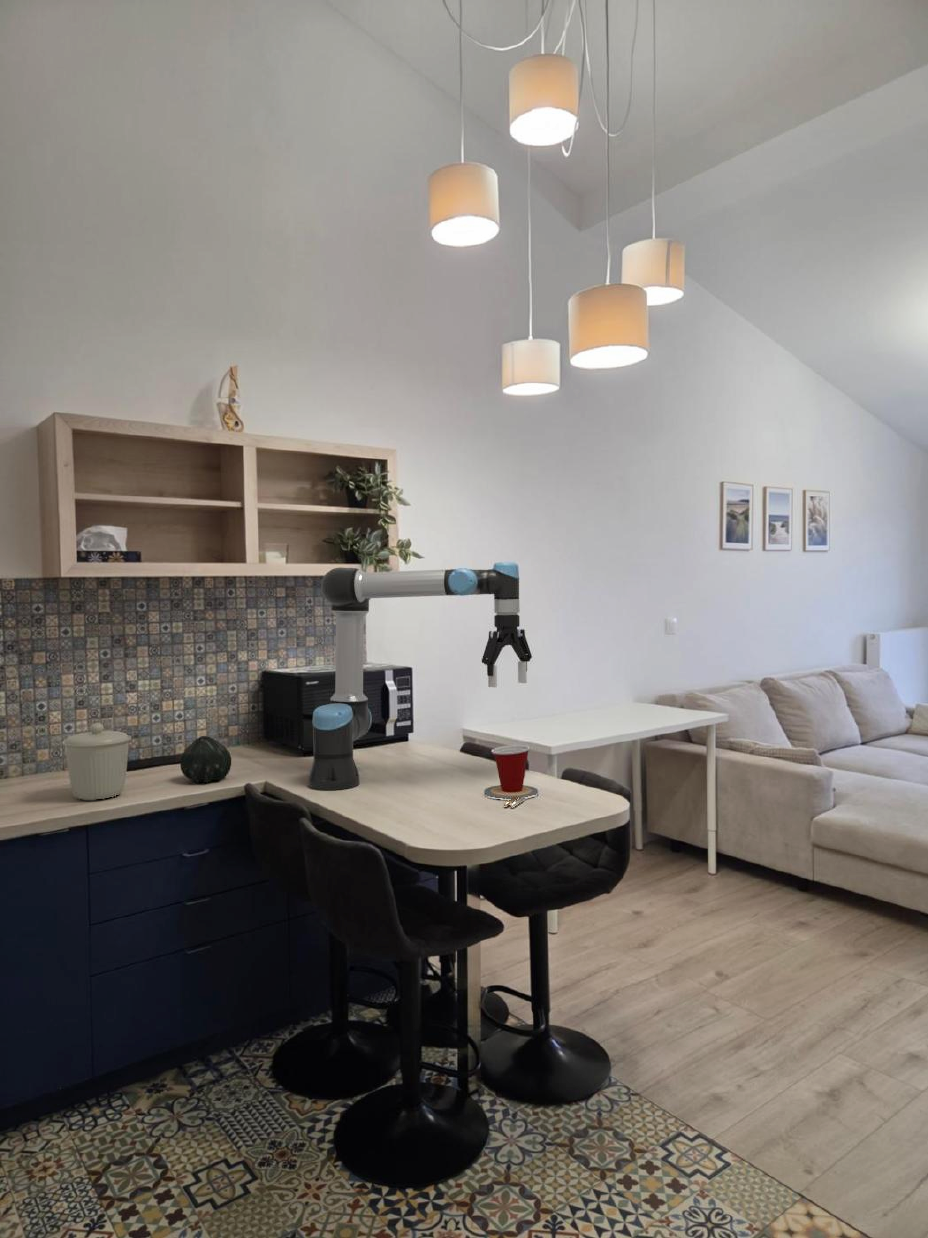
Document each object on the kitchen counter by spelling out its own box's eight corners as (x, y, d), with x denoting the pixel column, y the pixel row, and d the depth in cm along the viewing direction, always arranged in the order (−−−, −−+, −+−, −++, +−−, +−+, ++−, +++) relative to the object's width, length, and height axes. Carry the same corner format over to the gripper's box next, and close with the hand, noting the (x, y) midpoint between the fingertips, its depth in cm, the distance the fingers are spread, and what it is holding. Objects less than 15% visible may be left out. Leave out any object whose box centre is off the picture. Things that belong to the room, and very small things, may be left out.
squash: (219, 755, 273) (192, 724, 265) (247, 762, 264) (220, 731, 255) (190, 790, 266) (161, 760, 257) (218, 799, 256) (188, 768, 248)
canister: (143, 796, 242) (141, 722, 242) (78, 808, 229) (76, 730, 229) (116, 786, 255) (114, 716, 254) (54, 797, 242) (51, 724, 241)
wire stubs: (513, 809, 221) (513, 804, 221) (502, 808, 222) (502, 803, 222) (525, 801, 230) (525, 796, 230) (515, 800, 231) (515, 795, 231)
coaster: (514, 803, 227) (514, 799, 227) (473, 795, 237) (473, 791, 237) (548, 793, 238) (548, 789, 238) (508, 785, 248) (508, 781, 248)
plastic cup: (491, 785, 243) (491, 744, 243) (529, 785, 243) (529, 743, 242) (491, 795, 232) (491, 751, 232) (531, 794, 232) (530, 751, 231)
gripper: (523, 612, 265) (524, 680, 266) (468, 615, 247) (470, 687, 248) (542, 612, 260) (543, 682, 260) (488, 615, 242) (489, 689, 243)
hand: (507, 685), depth 254 cm, fingers open, 13 cm apart
